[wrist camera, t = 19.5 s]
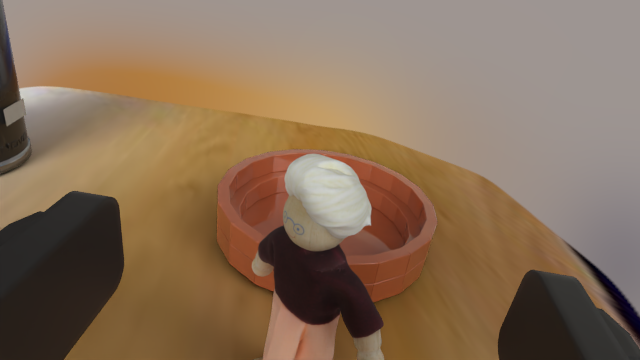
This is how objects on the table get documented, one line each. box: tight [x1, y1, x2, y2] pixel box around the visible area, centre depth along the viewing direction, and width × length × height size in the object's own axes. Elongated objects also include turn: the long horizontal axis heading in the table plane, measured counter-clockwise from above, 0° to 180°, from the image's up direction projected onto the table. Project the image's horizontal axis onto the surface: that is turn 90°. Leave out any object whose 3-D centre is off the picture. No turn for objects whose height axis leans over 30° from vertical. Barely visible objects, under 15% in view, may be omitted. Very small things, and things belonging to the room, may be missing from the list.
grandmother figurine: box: [252, 154, 384, 360], centre depth 18 cm, size 8×4×13 cm, turn 54°
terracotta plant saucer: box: [217, 149, 437, 302], centre depth 33 cm, size 16×16×4 cm
